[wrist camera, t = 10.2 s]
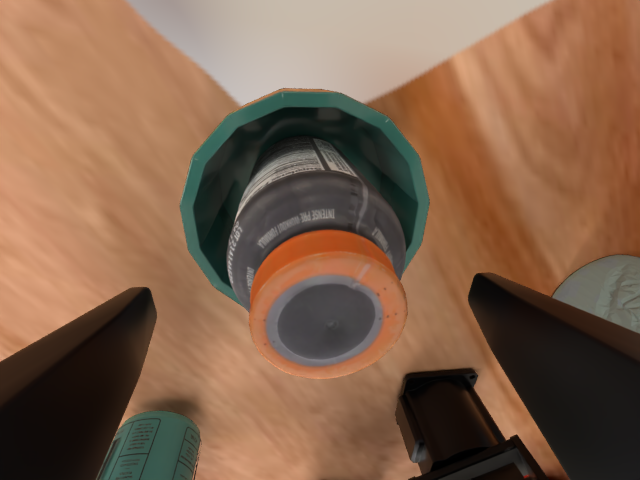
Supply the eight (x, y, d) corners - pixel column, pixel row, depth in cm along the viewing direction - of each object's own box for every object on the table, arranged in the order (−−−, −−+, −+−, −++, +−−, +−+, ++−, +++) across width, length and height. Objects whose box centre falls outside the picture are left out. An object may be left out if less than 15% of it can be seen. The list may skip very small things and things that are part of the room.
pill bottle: (350, 234, 19) (423, 401, 9) (253, 236, 18) (218, 417, 8) (359, 134, 16) (477, 214, 6) (246, 131, 16) (182, 217, 6)
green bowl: (396, 90, 16) (451, 94, 11) (376, 255, 21) (408, 314, 15) (200, 86, 15) (155, 87, 10) (224, 260, 20) (202, 326, 14)
